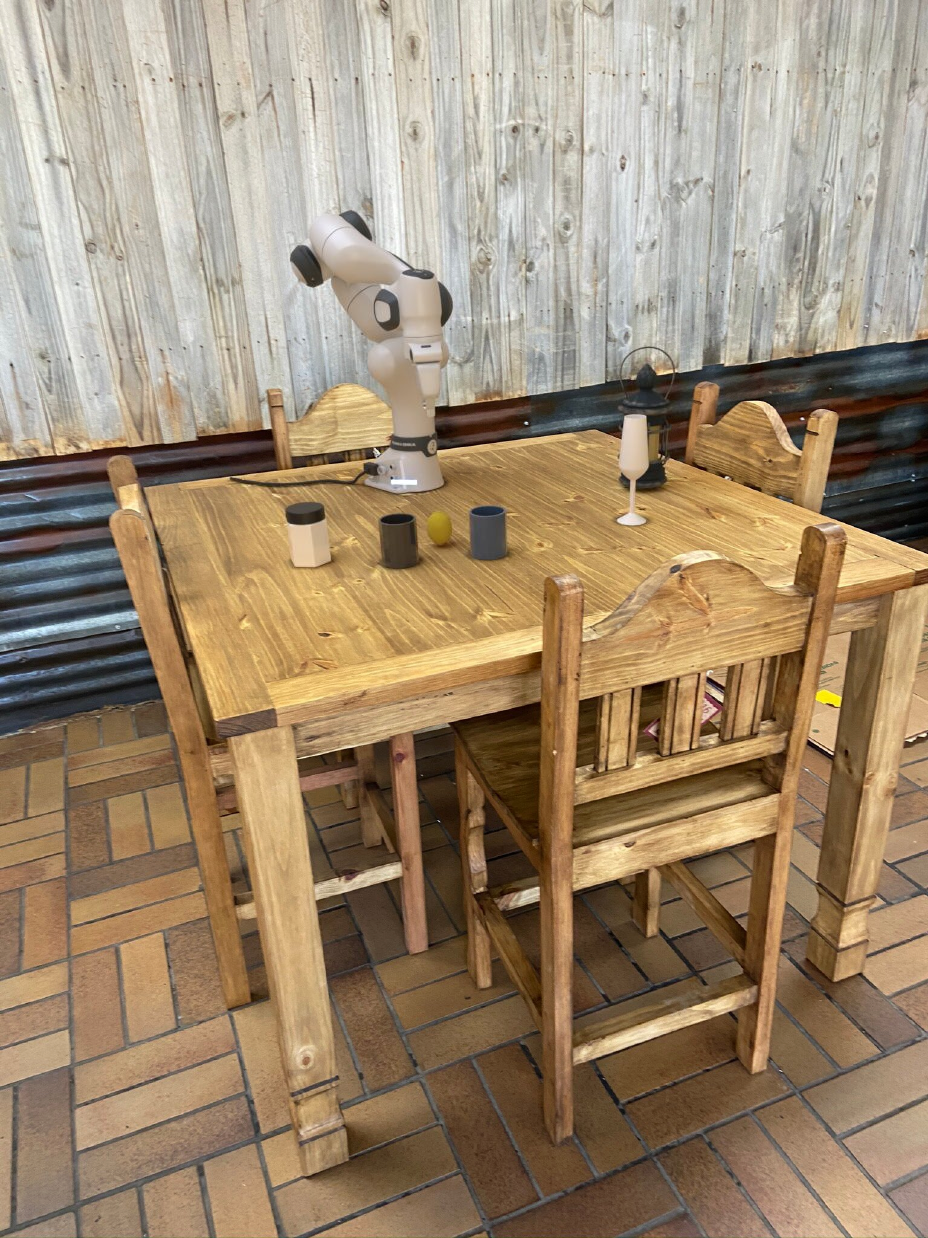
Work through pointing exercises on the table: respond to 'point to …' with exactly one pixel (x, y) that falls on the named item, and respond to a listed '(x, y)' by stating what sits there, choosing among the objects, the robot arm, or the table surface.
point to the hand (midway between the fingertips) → (428, 412)
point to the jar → (308, 534)
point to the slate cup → (488, 532)
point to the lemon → (439, 527)
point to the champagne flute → (633, 460)
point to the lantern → (649, 423)
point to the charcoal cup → (398, 540)
